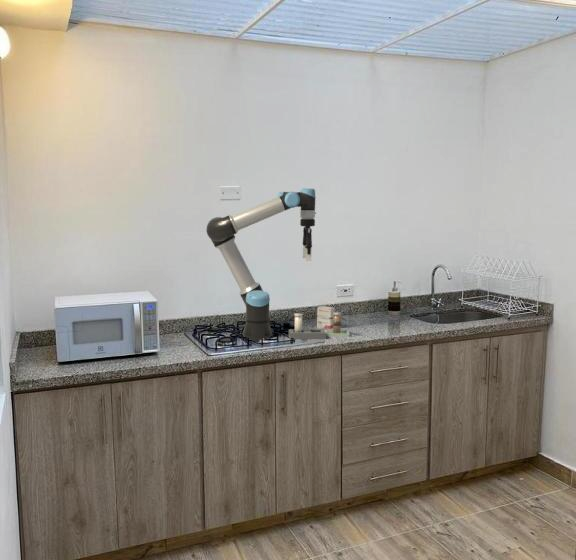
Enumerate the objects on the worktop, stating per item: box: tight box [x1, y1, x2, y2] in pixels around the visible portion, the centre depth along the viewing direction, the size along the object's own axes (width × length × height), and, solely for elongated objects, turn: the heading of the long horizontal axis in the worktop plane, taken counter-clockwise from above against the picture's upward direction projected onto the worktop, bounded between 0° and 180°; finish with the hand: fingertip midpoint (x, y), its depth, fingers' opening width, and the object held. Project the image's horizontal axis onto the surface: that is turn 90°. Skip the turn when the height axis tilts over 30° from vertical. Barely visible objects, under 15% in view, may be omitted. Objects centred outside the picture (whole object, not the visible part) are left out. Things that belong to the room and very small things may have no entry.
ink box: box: [316, 305, 336, 329], centre depth 328 cm, size 9×5×12 cm, turn 58°
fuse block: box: [288, 328, 327, 340], centre depth 304 cm, size 18×9×4 cm, turn 95°
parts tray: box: [324, 329, 351, 338], centre depth 311 cm, size 12×9×2 cm
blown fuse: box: [332, 311, 342, 333], centre depth 310 cm, size 4×4×12 cm
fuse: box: [294, 312, 304, 332], centre depth 303 cm, size 4×4×12 cm
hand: (306, 259), depth 315 cm, fingers open, 13 cm apart
